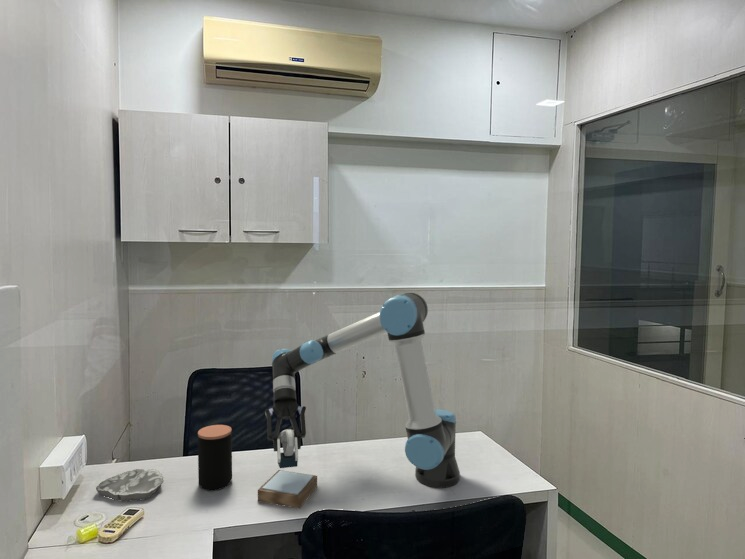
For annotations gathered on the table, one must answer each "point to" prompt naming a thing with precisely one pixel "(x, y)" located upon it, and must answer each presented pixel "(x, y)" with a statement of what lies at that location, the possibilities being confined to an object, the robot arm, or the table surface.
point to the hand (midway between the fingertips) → (288, 459)
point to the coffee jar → (214, 457)
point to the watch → (287, 449)
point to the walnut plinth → (287, 488)
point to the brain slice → (131, 485)
